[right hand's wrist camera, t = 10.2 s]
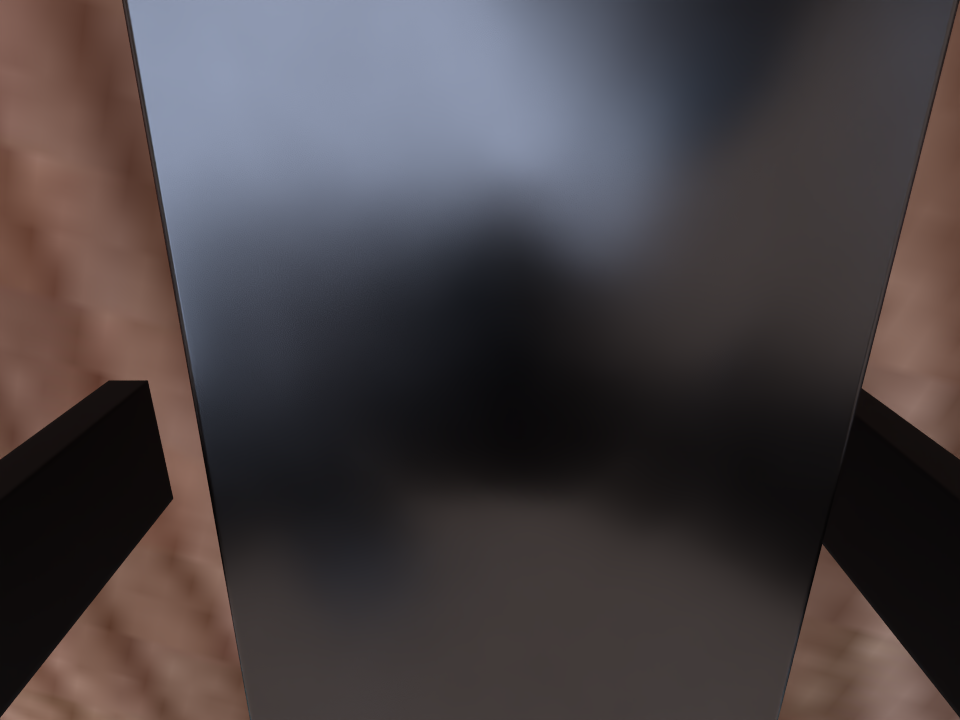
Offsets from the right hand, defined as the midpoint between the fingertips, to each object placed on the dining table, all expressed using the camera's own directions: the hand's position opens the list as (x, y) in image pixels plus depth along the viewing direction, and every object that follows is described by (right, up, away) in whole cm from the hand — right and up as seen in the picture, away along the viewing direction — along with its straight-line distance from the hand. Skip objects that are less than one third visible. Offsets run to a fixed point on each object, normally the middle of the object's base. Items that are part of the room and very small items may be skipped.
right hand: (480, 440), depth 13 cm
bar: (+1, +9, -1) cm, 9 cm away
